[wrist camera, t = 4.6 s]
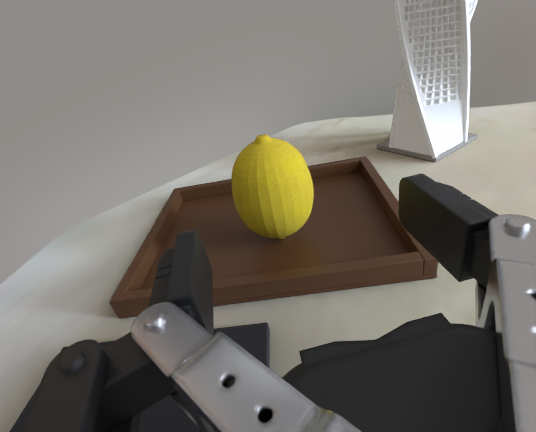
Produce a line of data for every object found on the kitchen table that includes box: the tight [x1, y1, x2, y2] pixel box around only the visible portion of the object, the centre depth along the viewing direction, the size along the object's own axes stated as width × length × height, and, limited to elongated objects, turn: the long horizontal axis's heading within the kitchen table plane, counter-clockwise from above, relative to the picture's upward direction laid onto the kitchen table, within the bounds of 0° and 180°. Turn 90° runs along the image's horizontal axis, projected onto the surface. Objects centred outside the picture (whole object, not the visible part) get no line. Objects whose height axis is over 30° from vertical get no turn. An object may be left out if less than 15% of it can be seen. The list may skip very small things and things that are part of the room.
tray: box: [109, 156, 438, 318], centre depth 26 cm, size 20×16×2 cm
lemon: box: [232, 134, 314, 239], centre depth 22 cm, size 6×6×8 cm
